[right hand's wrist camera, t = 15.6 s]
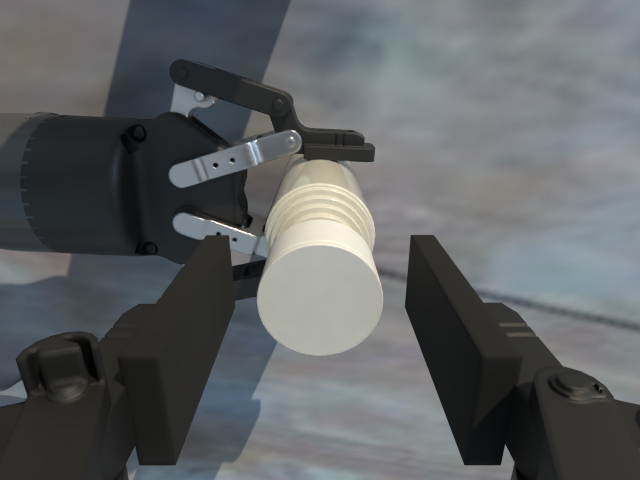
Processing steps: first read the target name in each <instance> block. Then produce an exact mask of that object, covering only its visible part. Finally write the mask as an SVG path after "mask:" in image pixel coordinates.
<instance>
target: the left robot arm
mask: <svg viewBox="0 0 640 480" xmlns="http://www.w3.org/2000/svg"><path fill="white" fill-rule="evenodd" d="M170 75H171V78H172V80H173V81H174V82H175V86H174V92H173V97H172V103H171V108H170V112H167V113H164V114H162V115H160V116H158V117H156V118H154V119H131V118H110V117H89V116H69V115H58V114H54V113H48V112H37V113H34V114H25V113H0V249H6V250H14V251H30V252H55V253H76V254H101V255H123V256H147V255H158V256H162V257H165V258H167V259H169V260H171V261H173V262H175V263H177V264H182V265H183V266H184V265H185V263H186V262H187V261H188V259H189V258H190V257H191V255H192V254H193V253H194V251H195V250H196V249H197V247H198V246H199V244H200V243H201V242H202V240H203V239H204V238H205V236H206V235H229V240H230V249H232V250H234V251H237V252H240V253H243V254H246V255H255V254H256V255H260V256H263V257H266V258H267V256H268V252H267V249H266V245H265V225H266V221H267V220H266V219H265V218H264V217H262V216H259V215H257V214H254V213H251V212H248V202H247V199H246V195H245V192H244V186H245V182H246V178H247V168H251V167H254V166H257V165H259V164H261V163H263V162H267V161H270V160H273V159H277V158H280V157H284V156H287V155H291V154H304V159H313V160H335V161H356V162H373V161H374V154H375V147H374V146H373V145H372V144H370V143H364V139H365V137H364V136H363V135H362V134H360V133H358V132H356V131H354V130H339V129H318V128H307V127H305V126H303V125H302V124H301V123H300V122H299V120H298V118H297V115H296V112H295V109H294V106H293V99H292V97H291V95H290V94H289V93H288V92H286V91H283V90H280V89H277V88H274V87H271V86H268V85H265V84H262V83H259V82H256V81H253V80H250V79H247V78H244V77H241V76H238V75H235V74H232V73H229V72H226V71H223V70H220V69H217V68H215V67H212V66H209V65H206V64H203V63H200V62H196V61H190V60H182V59H180V60H176V61H175V62H173V63H172V65H171V67H170ZM218 99H222V100H225V101H228V102H231V103H234V104H237V105H240V106H243V107H246V108H249V109H252V110H255V111H258V112H261V113H264V114H267V115H270V118H271V121H272V124H273V127H274V131H270V132H267V133H263V134H258V135H254V136H251V137H248V138H244V139H241V140H238V141H234V142H231V143H228V142H227V141H225V140H224V139H223V138H221V137H220V136H219V135H217V134H216V133H215V132H213V131H212V130H211V129H210V128H208V127H207V126H206V125H204V124H203V123H202V122H200V121H199V120H198V119H196V118H195V117H194V116H193V112H194V111H195V109H197V108H209V107H212V106H214V105H215V104H216V103H217V102H218ZM244 221H245V222H244ZM235 238H236V239H235ZM265 262H266V259H265V260H260V261H255V262H251V263H246V264H241V265H236V266H232V276H233V288H234V300H240V299H246V298H251V297H256V296H257V291H258V286H259V283H260V279H261V276H262V273H263V269H264V266H265Z"/></svg>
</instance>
